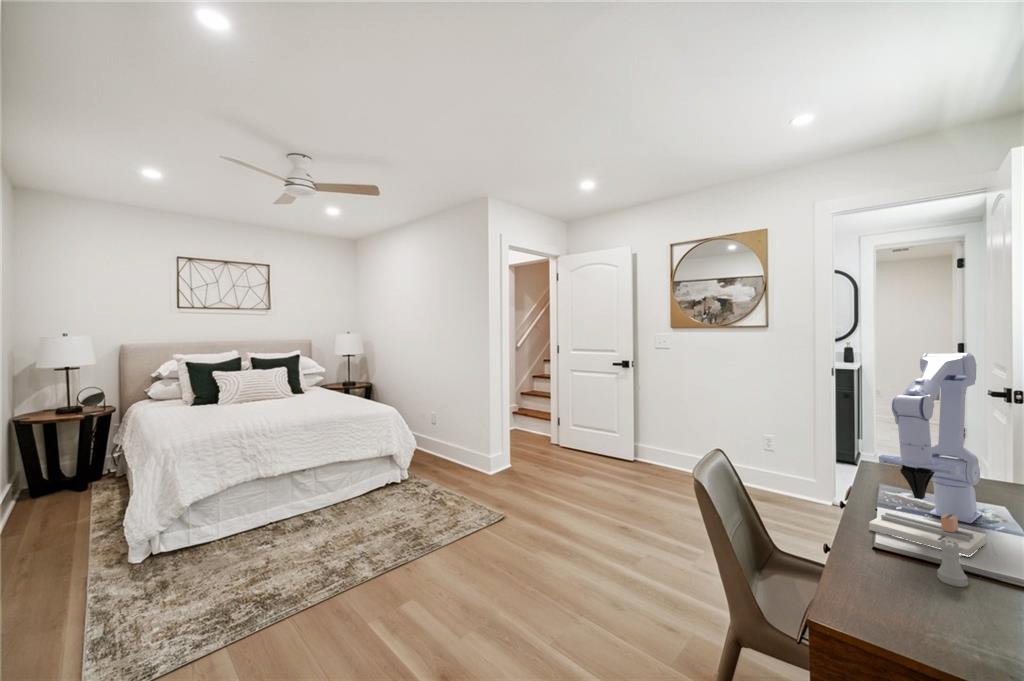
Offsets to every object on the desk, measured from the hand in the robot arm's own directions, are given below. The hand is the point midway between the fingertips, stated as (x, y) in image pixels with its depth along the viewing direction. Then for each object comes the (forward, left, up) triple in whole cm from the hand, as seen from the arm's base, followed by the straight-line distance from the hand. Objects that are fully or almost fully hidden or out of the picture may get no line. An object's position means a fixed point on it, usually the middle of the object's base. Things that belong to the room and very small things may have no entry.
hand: (919, 497), depth 104 cm
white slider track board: (0, 0, -9) cm, 9 cm away
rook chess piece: (+20, +10, -10) cm, 25 cm away
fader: (0, +5, -7) cm, 9 cm away
